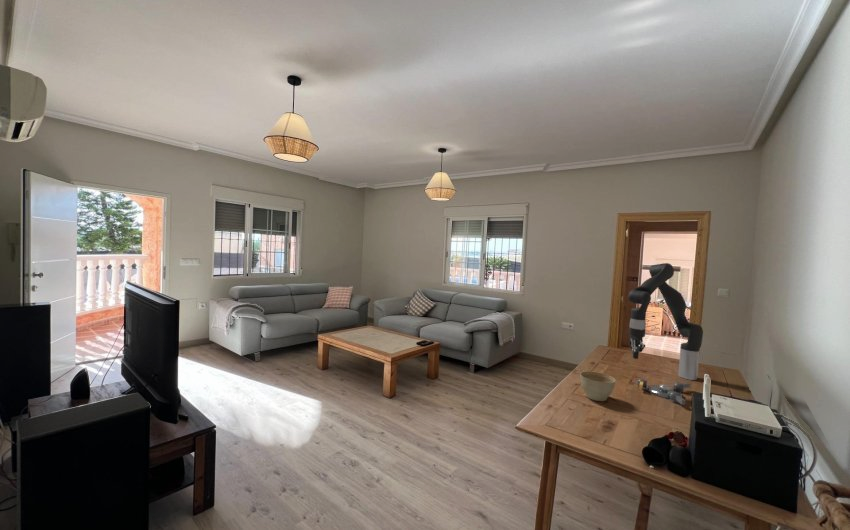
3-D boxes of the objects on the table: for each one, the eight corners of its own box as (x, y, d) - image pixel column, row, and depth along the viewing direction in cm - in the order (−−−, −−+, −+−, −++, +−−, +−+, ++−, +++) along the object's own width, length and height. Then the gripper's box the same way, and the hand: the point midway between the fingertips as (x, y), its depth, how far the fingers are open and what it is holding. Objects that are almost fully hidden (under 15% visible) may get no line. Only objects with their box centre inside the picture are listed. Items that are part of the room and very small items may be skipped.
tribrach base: (643, 382, 206) (643, 375, 205) (683, 392, 193) (684, 384, 193) (635, 392, 189) (636, 385, 189) (679, 404, 177) (680, 396, 177)
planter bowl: (612, 407, 169) (614, 385, 169) (576, 398, 178) (577, 377, 177) (615, 396, 183) (616, 375, 182) (581, 388, 191) (582, 368, 191)
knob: (667, 397, 182) (668, 390, 182) (677, 398, 181) (677, 391, 181) (678, 405, 172) (678, 399, 172) (688, 406, 171) (688, 400, 171)
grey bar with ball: (679, 391, 191) (680, 385, 191) (671, 388, 195) (672, 382, 195) (692, 389, 194) (693, 383, 194) (684, 386, 198) (685, 380, 198)
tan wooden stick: (637, 383, 200) (638, 377, 200) (646, 385, 197) (647, 379, 197) (635, 388, 192) (636, 383, 191) (645, 391, 189) (645, 385, 189)
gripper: (623, 324, 202) (621, 354, 203) (637, 329, 189) (635, 362, 190) (637, 324, 202) (635, 355, 203) (651, 330, 189) (649, 362, 190)
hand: (635, 358), depth 197 cm, fingers closed
